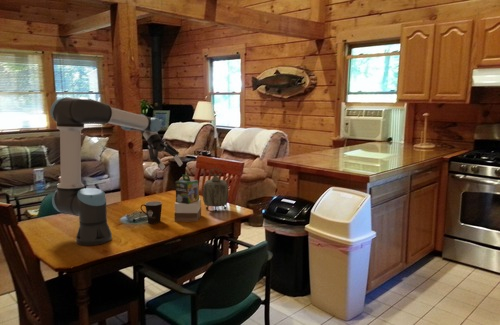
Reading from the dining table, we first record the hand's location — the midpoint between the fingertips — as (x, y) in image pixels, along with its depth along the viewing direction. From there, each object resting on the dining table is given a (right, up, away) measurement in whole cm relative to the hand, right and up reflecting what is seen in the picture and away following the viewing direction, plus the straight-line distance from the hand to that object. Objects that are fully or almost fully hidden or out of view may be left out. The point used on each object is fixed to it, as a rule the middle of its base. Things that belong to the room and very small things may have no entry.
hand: (172, 166), depth 213 cm
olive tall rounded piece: (+23, -26, +13) cm, 37 cm away
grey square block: (+9, -29, -1) cm, 30 cm away
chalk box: (+9, -19, -3) cm, 21 cm away
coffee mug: (-9, -29, -6) cm, 31 cm away
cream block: (+9, -24, -2) cm, 25 cm away
